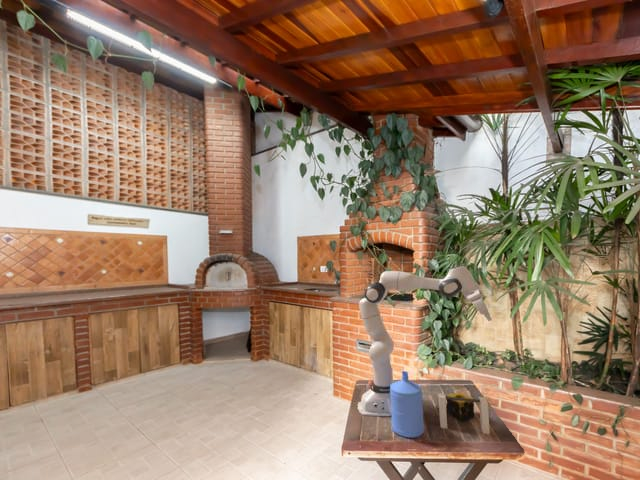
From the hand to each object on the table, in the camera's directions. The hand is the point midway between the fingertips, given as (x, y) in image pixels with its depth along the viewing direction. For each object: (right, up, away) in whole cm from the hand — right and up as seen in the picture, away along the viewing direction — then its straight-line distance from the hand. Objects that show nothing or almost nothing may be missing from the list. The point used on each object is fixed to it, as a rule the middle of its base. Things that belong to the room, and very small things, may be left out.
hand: (489, 318), depth 152 cm
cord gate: (-13, -55, -1) cm, 56 cm away
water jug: (-41, -56, 0) cm, 70 cm away
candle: (-10, -56, +11) cm, 57 cm away
